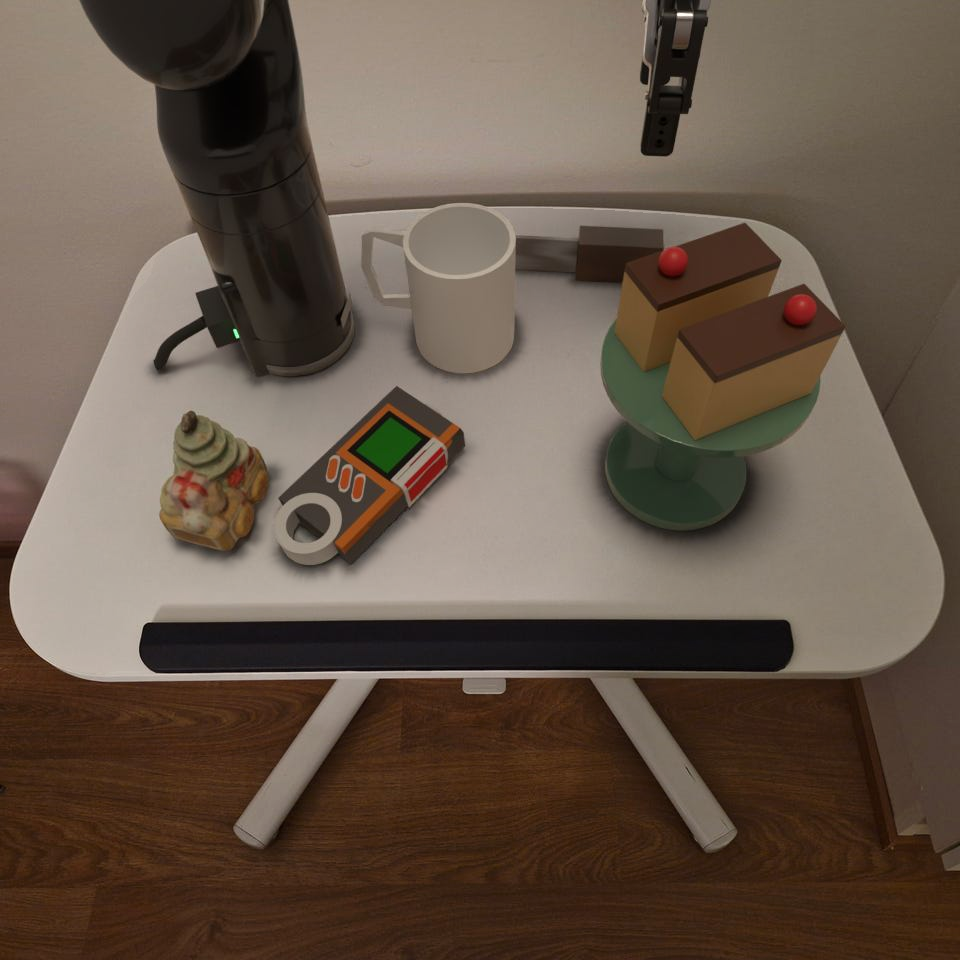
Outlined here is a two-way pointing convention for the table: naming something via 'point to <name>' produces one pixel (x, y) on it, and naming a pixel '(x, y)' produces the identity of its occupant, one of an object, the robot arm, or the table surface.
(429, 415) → the electronic device
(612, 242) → the knife
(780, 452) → the table surface
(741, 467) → the cake stand
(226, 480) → the ornament
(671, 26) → the robot arm
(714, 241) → the cake
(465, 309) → the cup
